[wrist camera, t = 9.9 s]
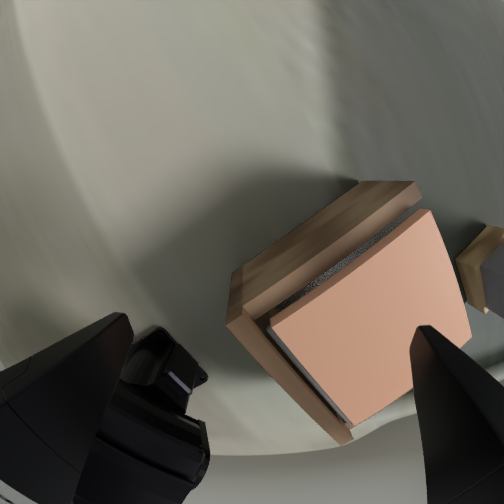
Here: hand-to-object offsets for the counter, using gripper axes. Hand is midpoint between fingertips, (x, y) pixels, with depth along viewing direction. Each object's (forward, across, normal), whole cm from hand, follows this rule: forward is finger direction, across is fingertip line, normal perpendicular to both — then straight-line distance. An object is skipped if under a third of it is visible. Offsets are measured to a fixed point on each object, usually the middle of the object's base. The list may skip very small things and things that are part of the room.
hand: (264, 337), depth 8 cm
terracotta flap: (+6, -6, +5) cm, 10 cm away
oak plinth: (+17, -20, +7) cm, 27 cm away
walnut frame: (+14, -4, +7) cm, 16 cm away
